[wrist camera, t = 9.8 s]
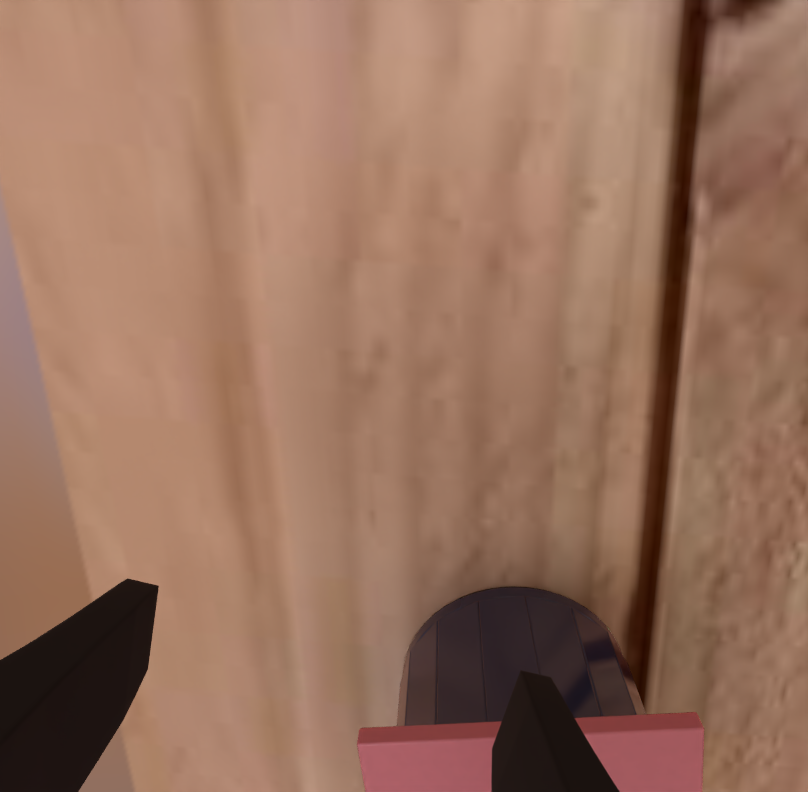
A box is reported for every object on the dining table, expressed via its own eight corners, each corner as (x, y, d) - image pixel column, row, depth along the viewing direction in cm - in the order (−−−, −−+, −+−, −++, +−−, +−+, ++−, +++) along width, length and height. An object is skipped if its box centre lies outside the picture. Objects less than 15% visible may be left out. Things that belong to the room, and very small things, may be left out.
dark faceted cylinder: (584, 783, 27) (624, 965, 21) (382, 737, 27) (363, 907, 21) (657, 616, 24) (729, 769, 18) (432, 563, 24) (428, 699, 18)
